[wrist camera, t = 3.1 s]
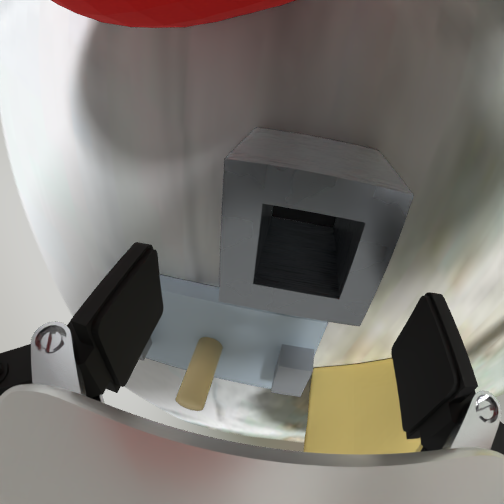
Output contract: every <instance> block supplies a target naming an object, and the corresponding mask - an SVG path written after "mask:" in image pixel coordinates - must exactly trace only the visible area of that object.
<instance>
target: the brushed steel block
mask: <svg viewBox="0 0 504 504" xmlns="http://www.w3.org/2000/svg"><path fill="white" fill-rule="evenodd" d="M413 196H414V195H413V194H412V192H411V191H410V190H409V188H408V187H407V186H406V184H405V183H404V182H403V180H402V179H401V178H400V176H399V175H398V174H397V173H396V171H395V170H394V169H393V167H392V166H391V165H390V164H389V162H388V161H387V160H386V159H385V158H384V156H383V155H382V154H381V153H380V152H379V150H375V149H371V148H367V147H363V146H359V145H355V144H350V143H346V142H341V141H336V140H332V139H327V138H321V137H316V136H311V135H305V134H299V133H293V132H287V131H280V130H273V129H266V128H258V127H256V128H255V129H254V130H253V131H252V132H251V133H250V134H249V135H248V136H247V137H246V138H245V139H244V140H243V141H242V142H241V143H240V144H239V145H238V146H237V147H236V148H235V149H234V150H233V151H232V152H231V153H230V154H229V155H228V156H227V157H226V158H225V161H224V179H223V198H222V220H221V246H220V278H219V302H224V303H229V304H234V305H239V306H244V307H249V308H254V309H259V310H264V311H270V312H275V313H280V314H286V315H292V316H297V317H303V318H309V319H315V320H321V321H328V322H334V323H341V324H347V325H354V326H360V325H361V323H362V321H363V319H364V317H365V315H366V312H367V310H368V308H369V306H370V304H371V302H372V300H373V298H374V296H375V293H376V291H377V289H378V287H379V284H380V282H381V280H382V278H383V275H384V273H385V271H386V268H387V266H388V263H389V261H390V259H391V256H392V254H393V251H394V249H395V246H396V244H397V241H398V238H399V236H400V233H401V230H402V228H403V225H404V222H405V219H406V217H407V214H408V211H409V208H410V205H411V202H412V199H413ZM273 205H275V206H281V207H286V208H292V209H298V210H303V211H308V212H314V213H319V214H324V215H330V216H335V217H336V219H335V223H334V227H328V226H322V225H317V224H312V223H306V222H301V221H295V220H290V219H284V218H278V217H273V216H272V211H273Z"/></svg>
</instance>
